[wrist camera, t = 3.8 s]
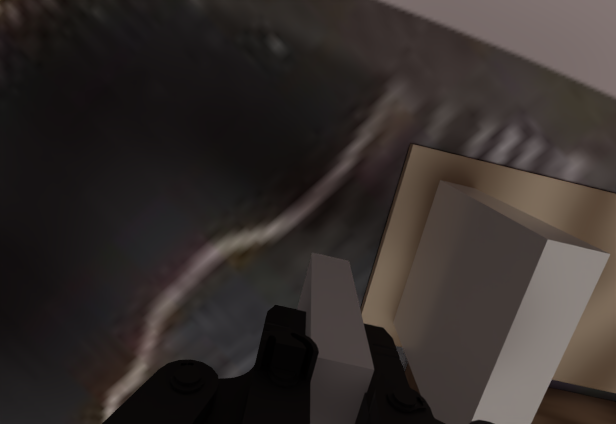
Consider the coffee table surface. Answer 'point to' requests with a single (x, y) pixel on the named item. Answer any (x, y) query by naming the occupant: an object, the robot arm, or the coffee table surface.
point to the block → (491, 306)
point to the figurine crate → (562, 407)
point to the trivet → (530, 199)
